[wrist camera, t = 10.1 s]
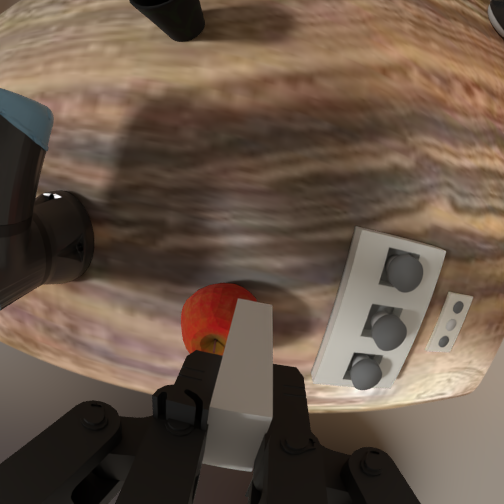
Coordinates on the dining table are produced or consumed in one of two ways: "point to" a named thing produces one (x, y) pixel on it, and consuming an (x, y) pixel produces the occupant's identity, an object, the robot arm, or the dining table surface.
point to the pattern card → (449, 322)
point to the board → (374, 306)
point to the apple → (211, 316)
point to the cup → (174, 17)
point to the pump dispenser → (497, 15)
